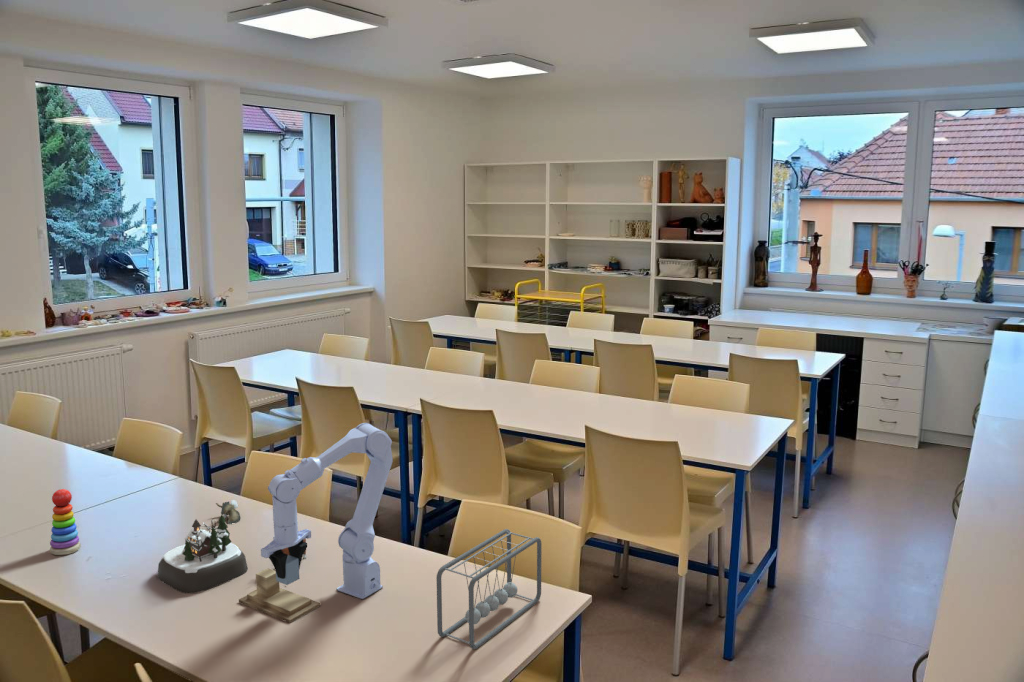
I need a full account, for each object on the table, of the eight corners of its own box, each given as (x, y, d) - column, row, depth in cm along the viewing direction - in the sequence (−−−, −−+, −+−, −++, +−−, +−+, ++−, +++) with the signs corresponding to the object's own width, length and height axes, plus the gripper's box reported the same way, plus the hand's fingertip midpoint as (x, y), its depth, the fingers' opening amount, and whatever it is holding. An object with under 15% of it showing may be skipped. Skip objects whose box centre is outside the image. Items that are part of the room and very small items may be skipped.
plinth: (320, 605, 206) (320, 598, 206) (290, 623, 198) (289, 615, 198) (269, 586, 217) (269, 579, 216) (238, 602, 208) (238, 595, 208)
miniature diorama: (216, 551, 239) (212, 496, 236) (255, 570, 226) (251, 513, 223) (150, 575, 224) (145, 517, 221) (188, 598, 211) (183, 536, 208)
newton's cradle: (508, 589, 215) (508, 525, 212) (542, 599, 209) (542, 535, 206) (436, 639, 191) (435, 569, 188) (472, 653, 185) (471, 581, 182)
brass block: (279, 591, 210) (278, 571, 209) (267, 598, 206) (266, 577, 205) (269, 587, 212) (268, 568, 211) (256, 593, 209) (255, 574, 208)
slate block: (299, 578, 205) (298, 558, 204) (287, 585, 201) (285, 564, 200) (288, 574, 207) (287, 554, 206) (276, 581, 203) (275, 560, 202)
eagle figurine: (209, 514, 263) (215, 518, 255) (220, 494, 265) (226, 497, 257) (231, 523, 266) (238, 527, 259) (241, 502, 268) (248, 506, 261)
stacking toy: (67, 557, 234) (61, 495, 231) (43, 555, 236) (37, 493, 233) (87, 546, 242) (81, 486, 239) (63, 543, 244) (57, 484, 240)
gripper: (296, 510, 209) (299, 559, 212) (251, 529, 197) (254, 581, 200) (316, 515, 206) (318, 565, 208) (271, 535, 194) (274, 588, 196)
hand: (288, 573), depth 204 cm, fingers closed on slate block, 4 cm apart
